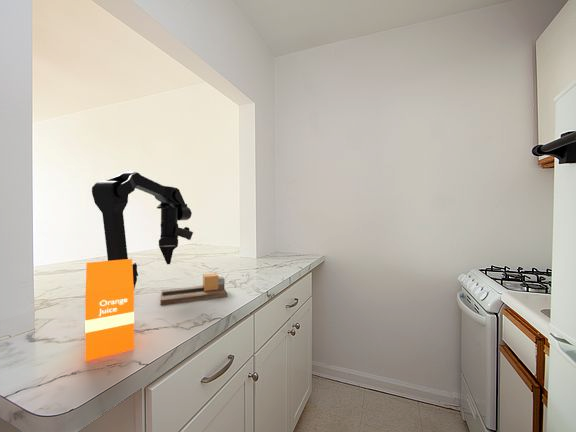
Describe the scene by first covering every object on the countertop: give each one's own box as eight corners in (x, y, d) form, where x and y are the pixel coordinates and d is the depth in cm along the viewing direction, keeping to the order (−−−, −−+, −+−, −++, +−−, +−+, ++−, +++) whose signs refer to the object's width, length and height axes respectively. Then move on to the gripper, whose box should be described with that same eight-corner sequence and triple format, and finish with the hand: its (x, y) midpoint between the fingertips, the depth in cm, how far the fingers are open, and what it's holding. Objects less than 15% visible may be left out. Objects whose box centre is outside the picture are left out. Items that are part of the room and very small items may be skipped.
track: (226, 296, 96) (227, 281, 96) (160, 304, 87) (160, 288, 87) (220, 287, 107) (220, 274, 107) (160, 294, 97) (160, 279, 97)
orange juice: (87, 345, 60) (86, 259, 60) (131, 335, 66) (131, 256, 65) (85, 361, 54) (84, 265, 54) (134, 349, 59) (134, 261, 59)
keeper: (218, 289, 98) (218, 275, 98) (204, 291, 96) (204, 277, 96) (216, 286, 102) (216, 273, 102) (202, 287, 100) (202, 274, 100)
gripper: (193, 221, 93) (192, 265, 94) (190, 220, 111) (190, 256, 111) (158, 221, 89) (158, 267, 89) (161, 220, 106) (161, 258, 106)
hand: (168, 262), depth 99 cm, fingers open, 9 cm apart
